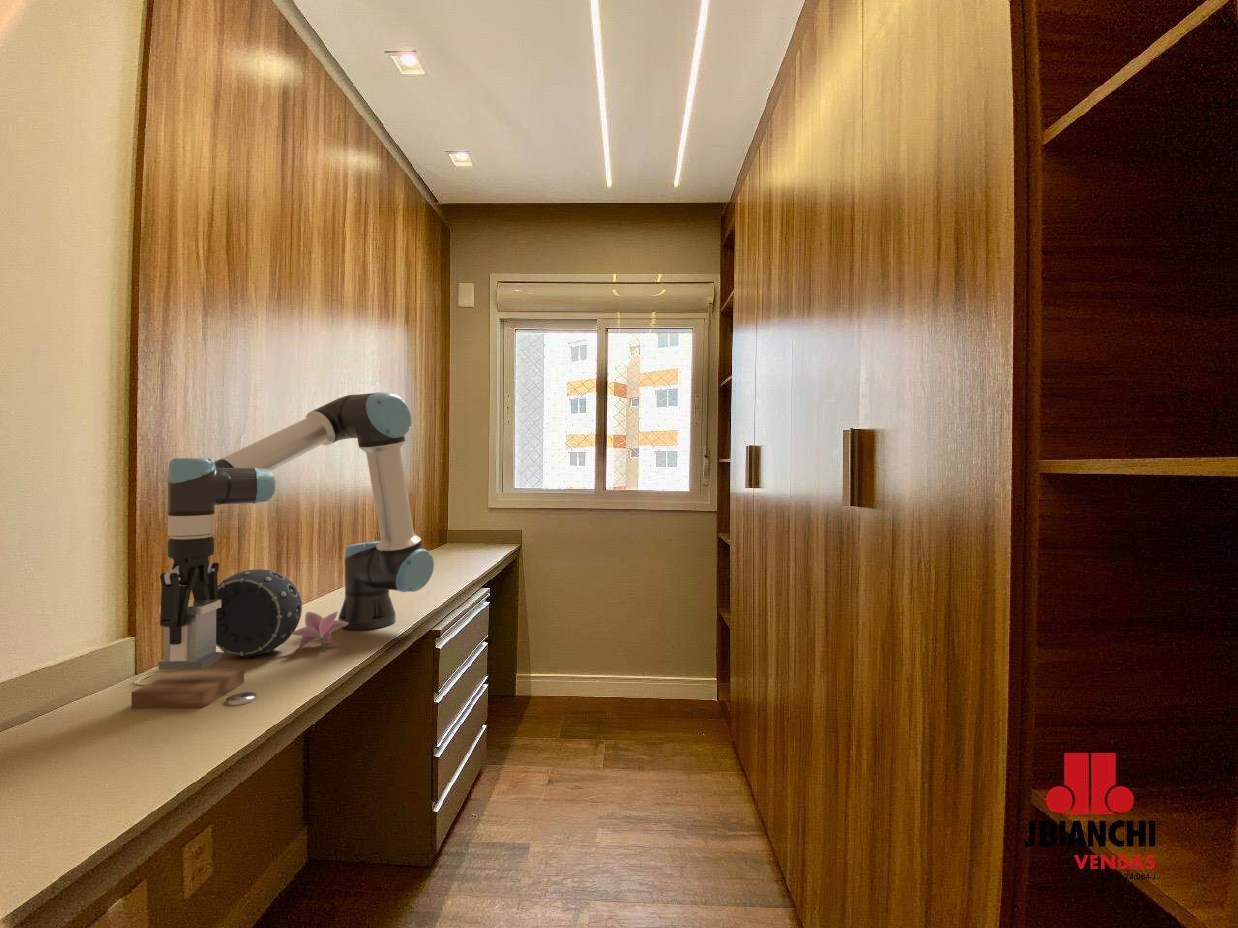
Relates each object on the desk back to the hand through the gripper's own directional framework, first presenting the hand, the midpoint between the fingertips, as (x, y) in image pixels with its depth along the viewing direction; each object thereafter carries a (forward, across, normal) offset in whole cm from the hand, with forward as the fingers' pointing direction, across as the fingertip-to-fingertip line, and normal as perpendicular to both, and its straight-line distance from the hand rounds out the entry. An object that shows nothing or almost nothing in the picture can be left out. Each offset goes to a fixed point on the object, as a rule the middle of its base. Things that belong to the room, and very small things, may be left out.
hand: (190, 654), depth 120 cm
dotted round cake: (+8, -26, -2) cm, 27 cm away
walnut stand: (+8, 0, 0) cm, 8 cm away
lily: (+8, -31, +11) cm, 34 cm away
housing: (+2, 0, 0) cm, 2 cm away
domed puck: (+8, +3, +12) cm, 14 cm away
